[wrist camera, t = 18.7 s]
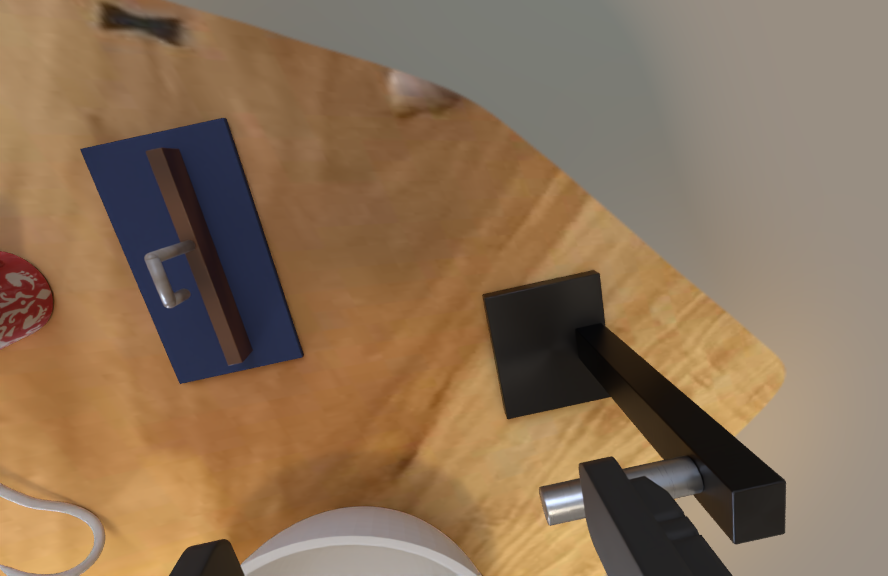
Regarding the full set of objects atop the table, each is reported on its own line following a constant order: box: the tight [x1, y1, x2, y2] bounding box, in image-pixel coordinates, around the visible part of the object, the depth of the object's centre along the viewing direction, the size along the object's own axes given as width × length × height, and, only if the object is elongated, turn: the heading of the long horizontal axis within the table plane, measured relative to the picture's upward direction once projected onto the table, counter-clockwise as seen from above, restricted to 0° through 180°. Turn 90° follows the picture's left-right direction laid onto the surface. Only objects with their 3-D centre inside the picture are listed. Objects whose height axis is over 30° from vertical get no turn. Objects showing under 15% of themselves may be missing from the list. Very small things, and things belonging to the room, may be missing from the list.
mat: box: [80, 118, 304, 384], centre depth 35 cm, size 20×11×1 cm, turn 12°
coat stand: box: [482, 270, 786, 544], centre depth 29 cm, size 12×10×21 cm
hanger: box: [144, 148, 253, 365], centre depth 32 cm, size 17×1×8 cm, turn 12°
